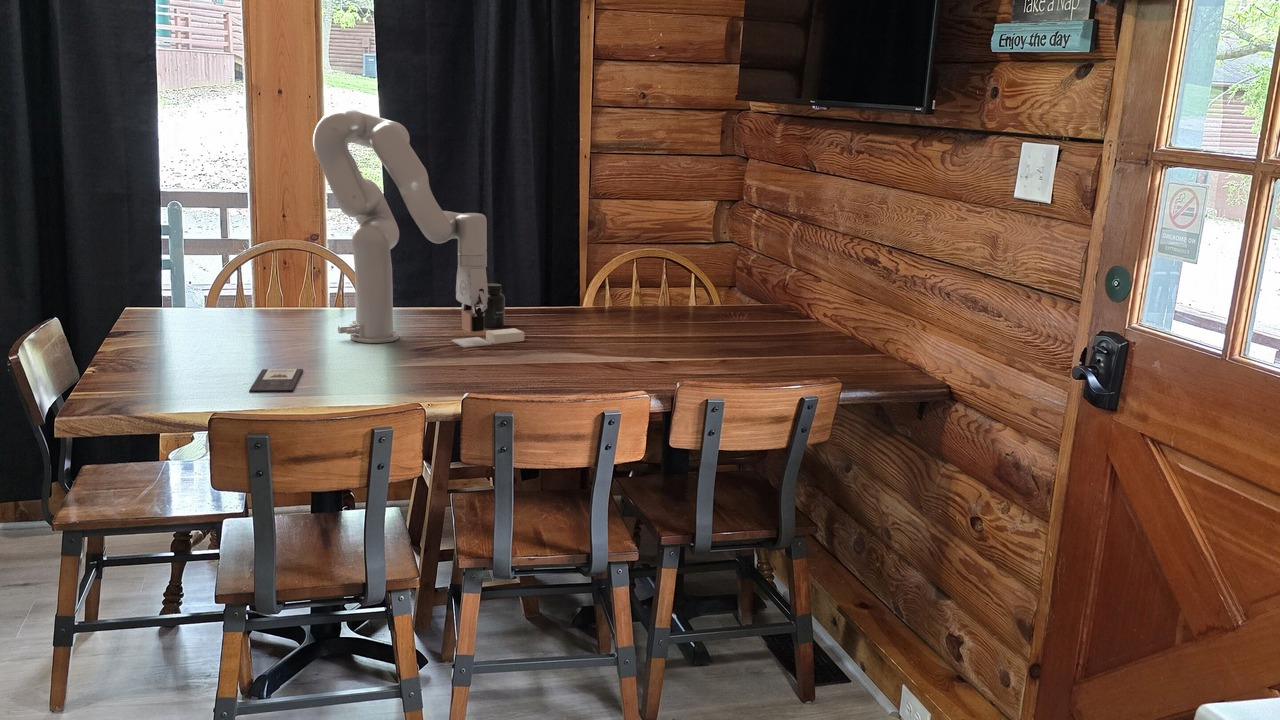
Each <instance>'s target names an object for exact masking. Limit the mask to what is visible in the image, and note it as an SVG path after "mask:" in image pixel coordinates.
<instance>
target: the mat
mask: <svg viewBox="0 0 1280 720" xmlns="http://www.w3.org/2000/svg"><path fill="white" fill-rule="evenodd" d="M451 342H452V343H455V344H457V345H458V346H460V347H462V348H474V347H481V346H491V345H493V343H491V342H489V341H487V340H486V339H484V338H481V337H479V336H475V337H465V338H458V339H457V338H456V339H455V338H453V339H451Z"/></svg>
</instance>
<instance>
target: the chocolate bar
mask: <svg viewBox="0 0 1280 720" xmlns="http://www.w3.org/2000/svg"><path fill="white" fill-rule="evenodd" d="M303 372H304V369H303V368H273V369H272V368H264V369H261V371H260V373H259V374H258V375H257V377H256V378H255V381H254V382H253V384H252V385H251V387H250V389H249V391H248V392H249V393H253V394H254V393H256V394H257V393H258V394H259V393H294V391H295V389H296V387H297V386H298V385H297V384H298V383H299V381H300V378H301V376H302V375H303Z"/></svg>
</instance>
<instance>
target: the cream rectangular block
mask: <svg viewBox="0 0 1280 720" xmlns="http://www.w3.org/2000/svg"><path fill="white" fill-rule="evenodd" d="M485 340H486V341H488V342H490V343H492V344H494V345H495V344H496V345H498V344H506V343H507V344H508V343H515V342H516V343H517V342H524V341H525V331H523V330H521V329H519V328H516V327H514V328H513V327H511V328H502V329H494V330H492V329H491V330H485Z"/></svg>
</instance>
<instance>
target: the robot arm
mask: <svg viewBox="0 0 1280 720" xmlns="http://www.w3.org/2000/svg"><path fill="white" fill-rule="evenodd" d="M408 131H409V130H407V128H406V127H405V126H404V125H403V124H401V123H400V122H398V121H394V120H390V119H386V118H383V117H381V116H380V117H379V116H376V115H373V114H370V113H366V112H363V111H360V110H356V109H350V108H349V109H335V110H331V111H329V112H328V113H326V114H325V115H323V116H322V117H321V119H320V120H319V121H318V123H317V125H316V126H315V129H314V132H313V137H312V145H313V151H314V154H315V157H316V159H317V161H318V163H319V165H320V168H321V170H322V172H323V174H324V177H325V178H326V181H327V183H328V185H329V188H330V189H331V191H332V194H333V196H334V198H335V201H336V203H337V204H338V207H339V209H340V210H341V212H342V213H343V214H344V215H346V216H348V217H350V218H355V220H356V222H357V224H358V225H357V226H356V228H355V229H354V231H353V234H352V239H351V245H352V246H351V247H352V253H353V261H354V262H353V263H354V281H355V282H354V283H355V284H354V285H355V320H353V321H352V323H350V324H349V325H340V326H338V327H337V333H338V334H346V335H350V336H349V337H350V339H351V341H353V342H356V343H357V342H358V343H364V344H384V343H391V342H395V341H398V340H399V339H400V334H399V332H397V331H395V330H394V311H393V310H394V306H393V305H394V304H393V303H394V301H393V299H394V294H393V293H394V291H393V285H394V284H393V265H392V256H391V250H392V249H393V248H395V246H396V245H397V244H398V243H399V239H400V229H399V227H398V223H397V221H396V219H395V217H394V215H393V213H392V210H391V209H390V206H389V205H388V202H387V200H386V198H385V195H384V193H383V192H382V189H380V188H379V186H378V185H377V184H376V183H375V182H373V181H372V180H371V179H368V178H364V176H363V175H362V173H361V171H360V169H359V166H358V165H357V162H356V160H355V158H354V157H353V155H352V153H351V152H350V150H349V144H355V145H359V146H363V147H366V148H370V149H372V150H373V151H374V153H375V154H376V156H377V157H378V160H380V162H381V164H382V166H383V167H384V168H385V170H386V171H387V173H388V174H389V176H390V177H391V180H392V181H393V182H394V183H395V185H396V187H397V188H398V191H399V193H400V196H401V198H402V200H403V202H404V205H405V206H406V208H407V210H408V212H409V214H410V216H411V218H412V219H413V220H414V222H415V224H416V225H417V227H418V228H419V230H420V231H421V233H422V234H423V235H424V237H425V238H426V239H427V240H428V241H430V242H431V243H434V244H440V245H441V244H443V243H446V242H448V241H449V240H453V239H457V269H456V270H457V271H456V281H455V282H456V283H455V299H456V301H458V302H459V303H460V305H461V308H460V309H461V311H460V312H462V311H466V310H473V316H472V331H474V333H476V332H475V331H483V330H484V331H485V327H484V315H485V313H484V312H485V310H486V308H487V299H488V289H487V284H488V277H487V267H488V263H487V262H488V251H487V249H488V248H487V247H488V243H487V242H488V240H487V239H488V237H487V235H488V233H487V231H488V230H487V229H488V227H487V222H488V221H487V217H486V215H485V214H483V213H478V212H464V213H461V212H454V211H448V210H443V209H442V207H440V205H439V204H438V202H437V200H436V198H435V196H434V195H433V192H432V190H431V186H430V182H429V181H430V180H429V175H428V171H427V169H426V167H425V166H424V164H423V163H422V161H421V160H420V159H419V157H418V155H417V154H416V151H414V149H413V148H412V146H411V144H410V141H411V138H410V133H409V132H408ZM477 303H478V304H477ZM476 310H477V311H476ZM484 331H483V332H484Z"/></svg>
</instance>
